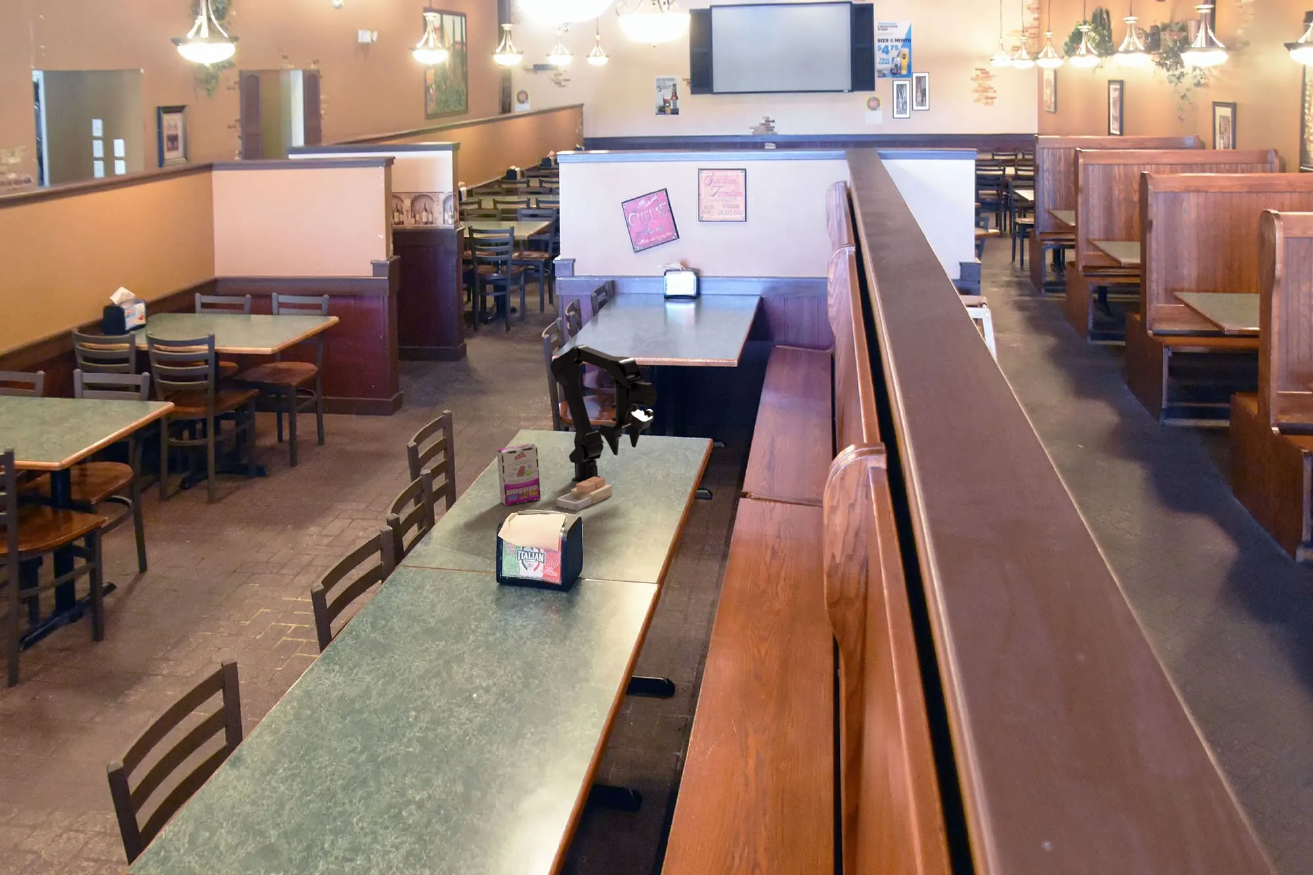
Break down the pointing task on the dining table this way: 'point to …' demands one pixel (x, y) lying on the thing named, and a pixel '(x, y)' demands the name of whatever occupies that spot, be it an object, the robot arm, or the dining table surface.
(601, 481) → the tile rear
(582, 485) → the tile front
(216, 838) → the dining table surface
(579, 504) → the tray
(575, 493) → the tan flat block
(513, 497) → the candy bar box
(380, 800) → the dining table surface
